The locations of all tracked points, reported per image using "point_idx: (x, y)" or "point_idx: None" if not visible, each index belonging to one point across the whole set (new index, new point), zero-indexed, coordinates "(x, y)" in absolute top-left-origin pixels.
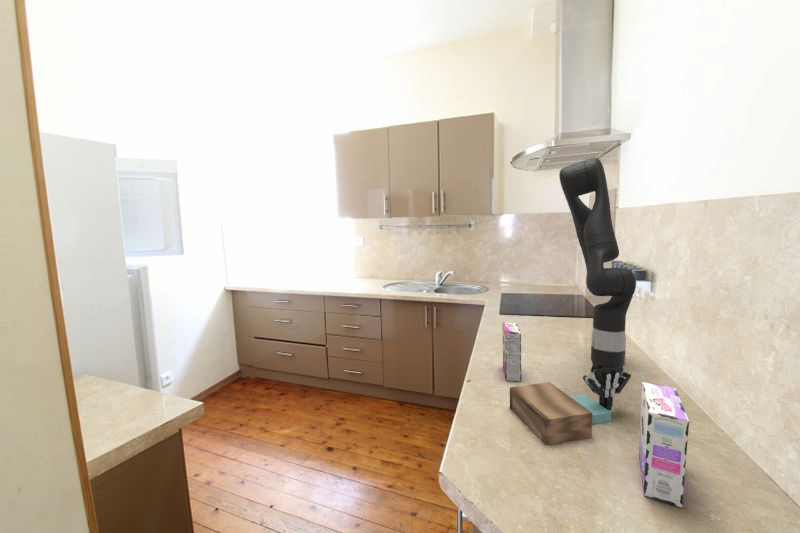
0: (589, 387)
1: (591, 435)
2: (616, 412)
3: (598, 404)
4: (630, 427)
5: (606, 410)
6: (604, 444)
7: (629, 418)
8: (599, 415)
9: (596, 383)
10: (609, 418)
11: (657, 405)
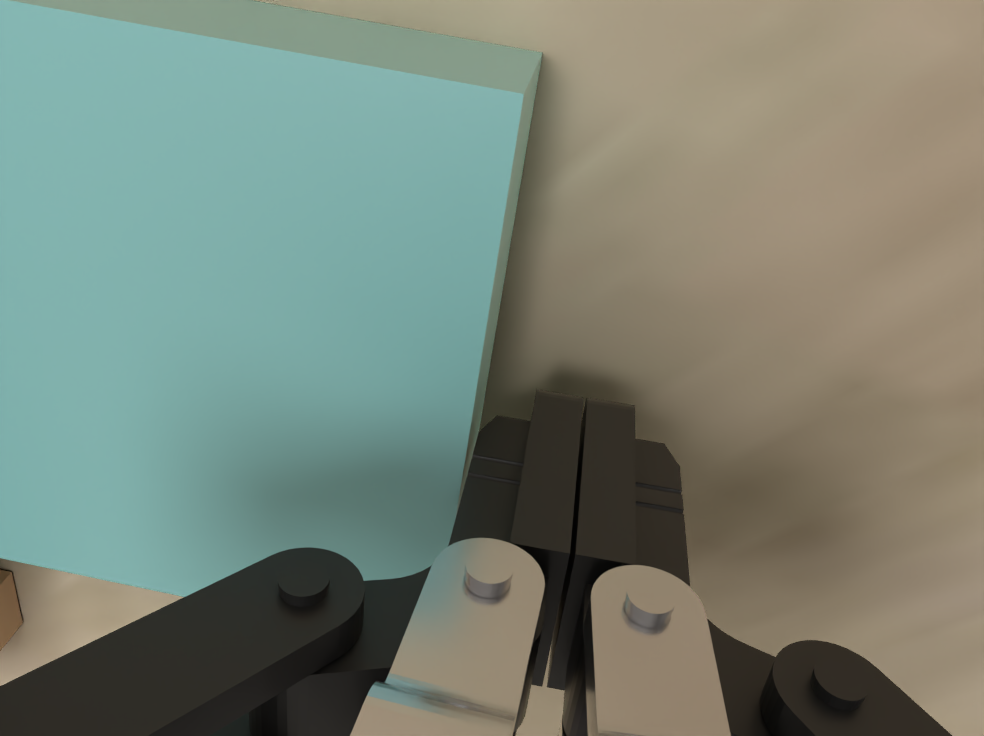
0: (116, 636)
1: (9, 636)
2: (741, 464)
3: (444, 450)
4: (559, 694)
5: None
6: None
7: (746, 608)
8: None
9: (371, 700)
10: None
11: None
